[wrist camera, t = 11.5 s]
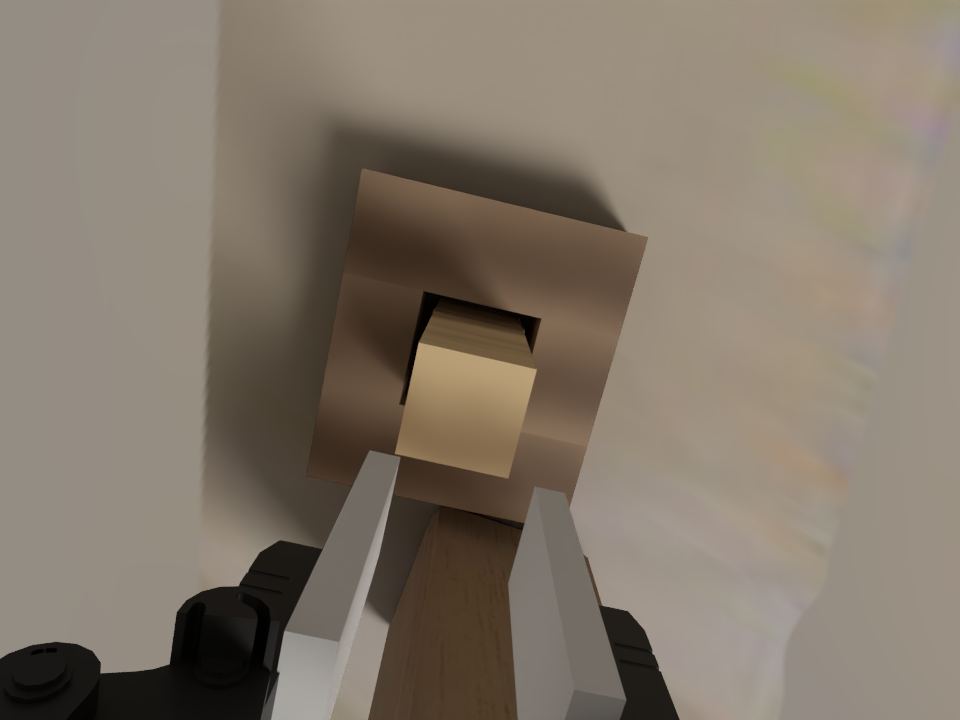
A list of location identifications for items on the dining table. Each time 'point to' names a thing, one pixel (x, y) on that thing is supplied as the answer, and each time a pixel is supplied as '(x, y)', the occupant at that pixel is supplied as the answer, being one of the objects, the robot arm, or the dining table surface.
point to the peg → (468, 390)
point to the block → (453, 626)
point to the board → (483, 280)
